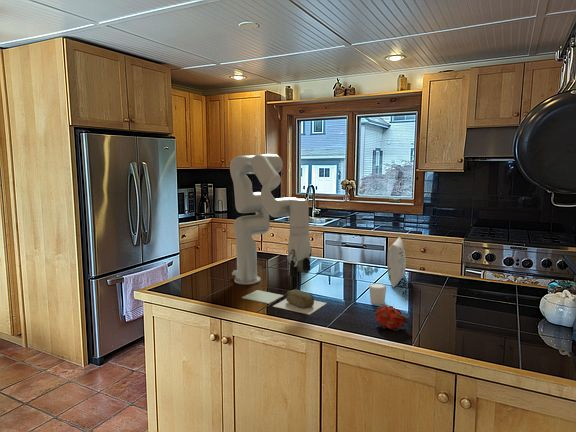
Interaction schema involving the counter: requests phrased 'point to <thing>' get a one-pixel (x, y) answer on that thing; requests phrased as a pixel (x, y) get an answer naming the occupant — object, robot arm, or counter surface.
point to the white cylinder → (377, 293)
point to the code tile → (289, 306)
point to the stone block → (300, 298)
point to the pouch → (396, 262)
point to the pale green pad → (262, 296)
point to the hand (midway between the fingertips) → (300, 273)
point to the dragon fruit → (390, 317)
